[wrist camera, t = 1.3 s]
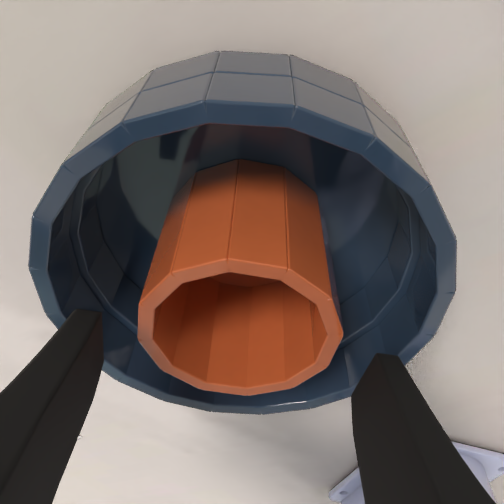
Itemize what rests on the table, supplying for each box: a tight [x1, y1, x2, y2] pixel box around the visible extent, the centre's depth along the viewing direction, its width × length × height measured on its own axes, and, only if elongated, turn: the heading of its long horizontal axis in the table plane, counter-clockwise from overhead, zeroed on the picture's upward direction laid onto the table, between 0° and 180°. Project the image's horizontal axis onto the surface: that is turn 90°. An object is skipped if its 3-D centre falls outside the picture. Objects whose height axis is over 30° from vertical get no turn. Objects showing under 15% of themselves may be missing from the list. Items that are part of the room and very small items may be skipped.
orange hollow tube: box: [137, 159, 344, 396], centre depth 14 cm, size 6×6×5 cm
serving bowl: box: [28, 51, 457, 415], centre depth 15 cm, size 12×12×4 cm
